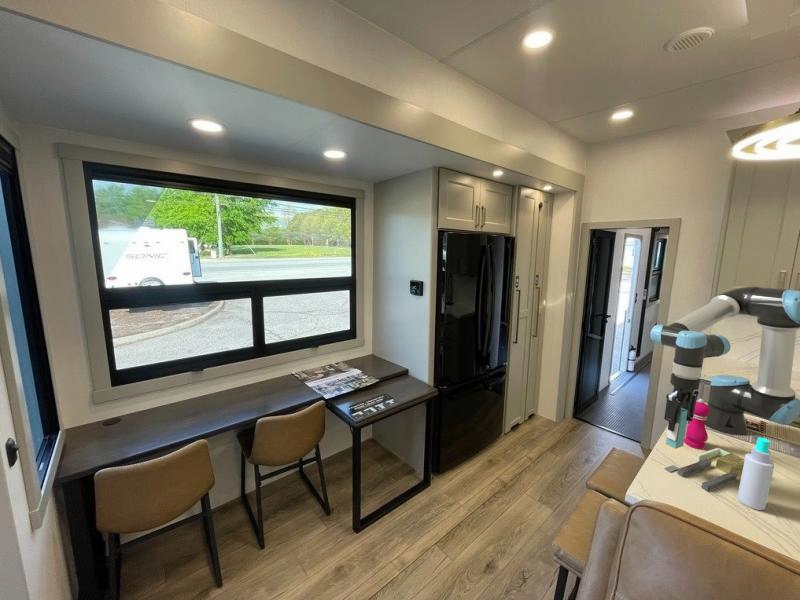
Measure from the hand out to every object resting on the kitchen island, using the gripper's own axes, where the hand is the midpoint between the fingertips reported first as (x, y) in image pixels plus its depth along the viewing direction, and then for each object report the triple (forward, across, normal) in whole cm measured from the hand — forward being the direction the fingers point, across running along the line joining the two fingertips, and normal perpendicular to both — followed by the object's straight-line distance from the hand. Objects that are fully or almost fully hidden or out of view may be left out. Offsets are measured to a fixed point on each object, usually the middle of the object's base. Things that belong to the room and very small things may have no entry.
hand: (675, 437), depth 116 cm
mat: (+13, 0, 0) cm, 13 cm away
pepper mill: (+13, -25, -7) cm, 29 cm away
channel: (+13, -7, +7) cm, 16 cm away
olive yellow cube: (+13, -18, +7) cm, 23 cm away
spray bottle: (+13, -6, +19) cm, 24 cm away
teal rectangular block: (+3, 0, 0) cm, 3 cm away
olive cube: (+13, -23, +7) cm, 27 cm away
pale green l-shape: (+13, -21, +7) cm, 25 cm away
